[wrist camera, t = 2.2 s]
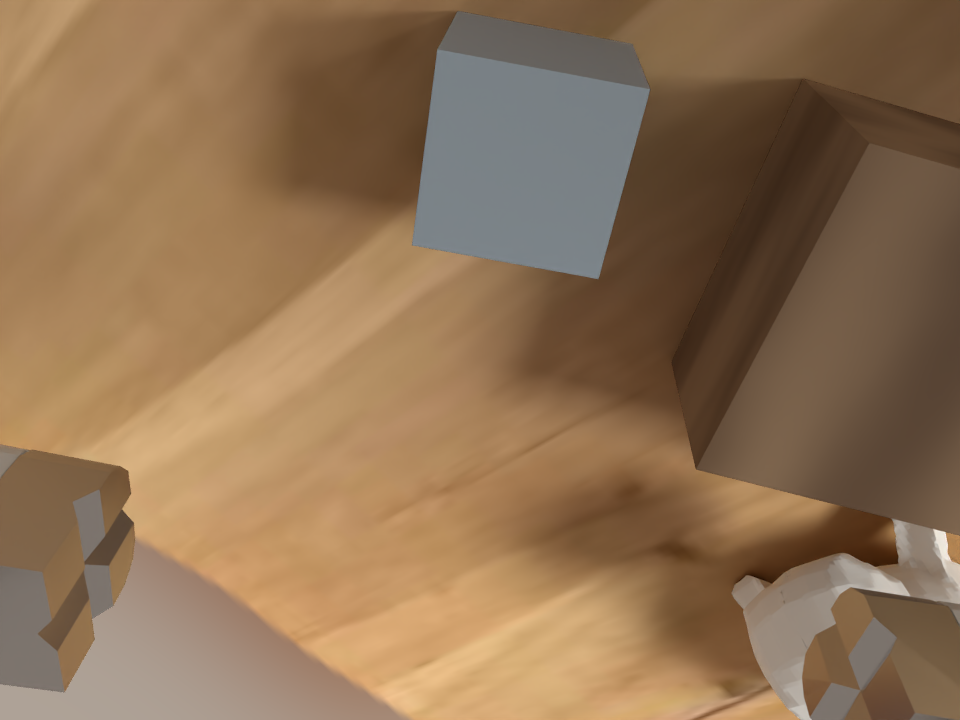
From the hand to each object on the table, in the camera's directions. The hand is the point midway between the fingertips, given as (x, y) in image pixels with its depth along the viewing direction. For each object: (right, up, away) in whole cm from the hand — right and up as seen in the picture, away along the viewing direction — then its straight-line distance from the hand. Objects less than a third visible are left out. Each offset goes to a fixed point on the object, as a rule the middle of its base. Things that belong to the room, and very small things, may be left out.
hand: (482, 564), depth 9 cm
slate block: (+1, +10, +15) cm, 18 cm away
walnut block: (+13, +5, +17) cm, 22 cm away
